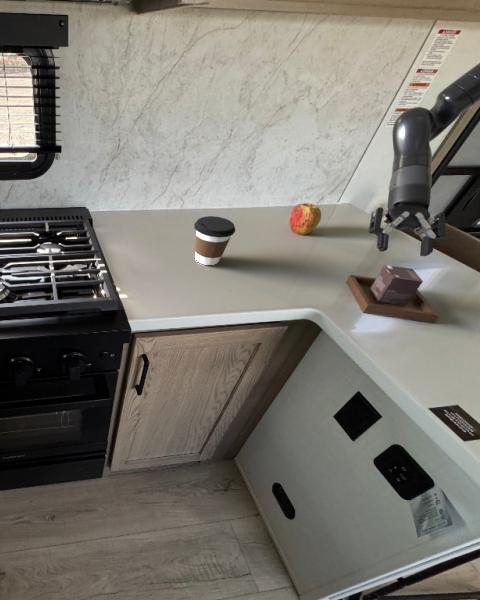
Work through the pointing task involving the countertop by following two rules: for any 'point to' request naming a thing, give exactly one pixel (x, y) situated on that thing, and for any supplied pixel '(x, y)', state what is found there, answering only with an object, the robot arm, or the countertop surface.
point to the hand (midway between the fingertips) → (403, 252)
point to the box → (395, 285)
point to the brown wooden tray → (413, 311)
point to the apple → (304, 218)
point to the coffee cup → (212, 238)
